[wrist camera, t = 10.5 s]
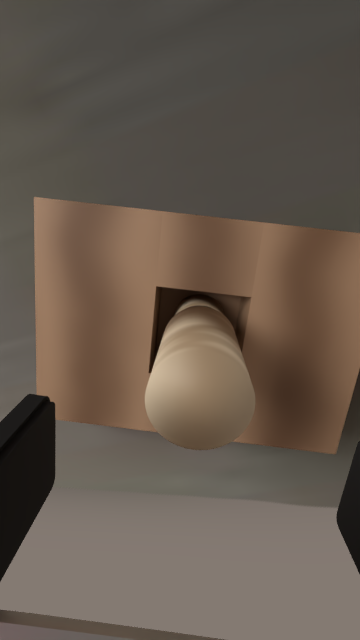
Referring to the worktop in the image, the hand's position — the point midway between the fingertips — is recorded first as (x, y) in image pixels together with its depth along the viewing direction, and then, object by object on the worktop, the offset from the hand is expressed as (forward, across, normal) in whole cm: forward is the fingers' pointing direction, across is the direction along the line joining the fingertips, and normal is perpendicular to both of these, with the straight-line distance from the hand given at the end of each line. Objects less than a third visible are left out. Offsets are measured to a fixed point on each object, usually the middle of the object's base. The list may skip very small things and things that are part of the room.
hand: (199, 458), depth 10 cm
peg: (+15, 0, 0) cm, 15 cm away
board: (+16, 0, 0) cm, 16 cm away
